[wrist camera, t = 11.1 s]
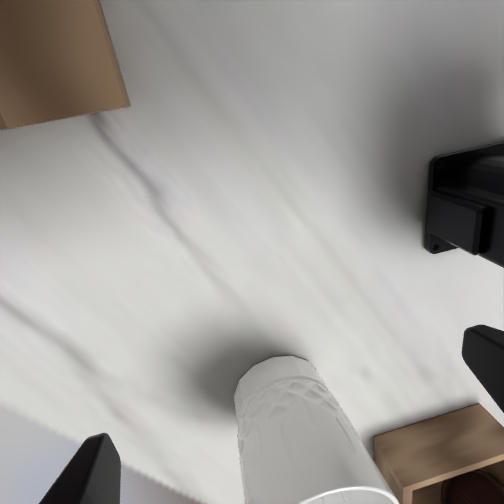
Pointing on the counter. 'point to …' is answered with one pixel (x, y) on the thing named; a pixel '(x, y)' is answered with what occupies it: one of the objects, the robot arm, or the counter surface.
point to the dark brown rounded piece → (472, 489)
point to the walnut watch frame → (439, 453)
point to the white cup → (300, 441)
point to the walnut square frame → (56, 62)
